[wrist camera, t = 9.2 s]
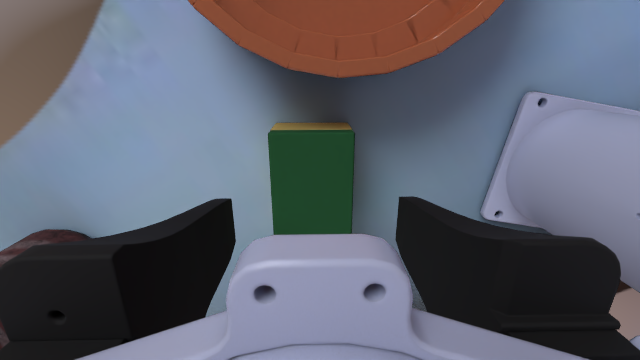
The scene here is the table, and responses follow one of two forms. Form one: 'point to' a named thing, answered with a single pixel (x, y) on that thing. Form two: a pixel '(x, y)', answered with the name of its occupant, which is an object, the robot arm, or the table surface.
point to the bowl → (346, 31)
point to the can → (33, 239)
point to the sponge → (311, 178)
